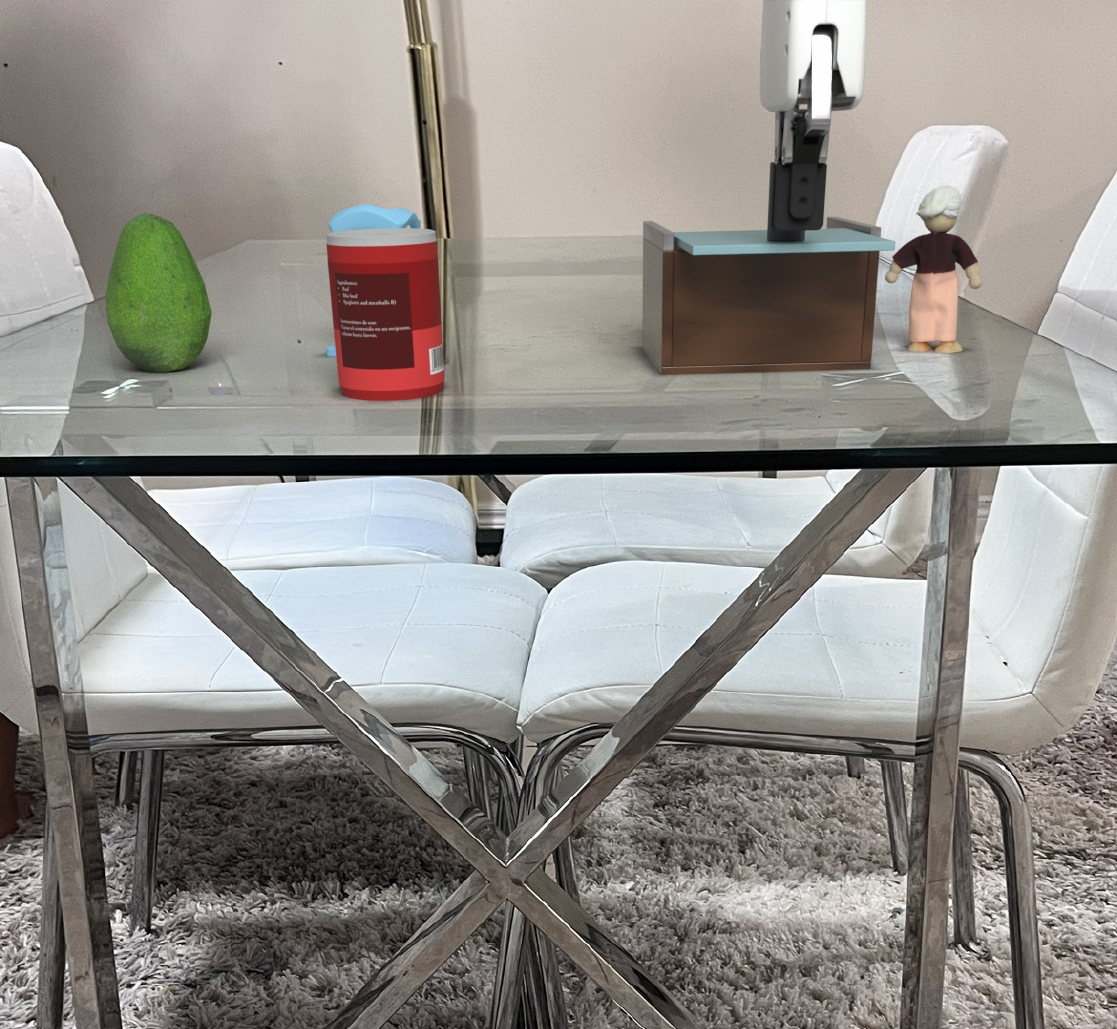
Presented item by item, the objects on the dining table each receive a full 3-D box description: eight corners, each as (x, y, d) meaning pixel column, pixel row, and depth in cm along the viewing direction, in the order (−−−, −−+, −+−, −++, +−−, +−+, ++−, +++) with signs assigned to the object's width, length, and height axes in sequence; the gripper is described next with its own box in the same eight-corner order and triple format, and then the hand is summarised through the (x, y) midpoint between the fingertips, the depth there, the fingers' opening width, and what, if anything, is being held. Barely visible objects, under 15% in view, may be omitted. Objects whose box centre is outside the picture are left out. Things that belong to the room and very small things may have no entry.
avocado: (185, 382, 103) (163, 215, 98) (97, 379, 105) (71, 216, 100) (235, 366, 110) (217, 209, 105) (151, 363, 112) (129, 210, 107)
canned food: (423, 381, 102) (414, 226, 97) (462, 397, 95) (454, 232, 90) (325, 390, 99) (311, 231, 94) (358, 408, 92) (344, 237, 87)
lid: (845, 236, 103) (850, 157, 101) (895, 250, 91) (902, 160, 88) (667, 240, 103) (668, 161, 101) (692, 255, 90) (694, 165, 88)
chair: (443, 346, 119) (435, 200, 114) (411, 360, 111) (401, 205, 106) (362, 344, 120) (351, 200, 115) (325, 358, 113) (311, 206, 108)
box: (828, 345, 114) (836, 216, 110) (870, 372, 102) (881, 227, 97) (642, 350, 114) (643, 221, 110) (661, 377, 101) (663, 232, 97)
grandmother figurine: (975, 349, 111) (993, 184, 105) (974, 356, 107) (992, 186, 102) (881, 347, 113) (893, 184, 107) (876, 354, 109) (889, 187, 104)
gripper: (910, -114, 75) (882, 236, 82) (845, -76, 88) (825, 222, 96) (777, -113, 74) (761, 239, 82) (732, -75, 88) (722, 224, 96)
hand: (796, 229), depth 89 cm, fingers closed
